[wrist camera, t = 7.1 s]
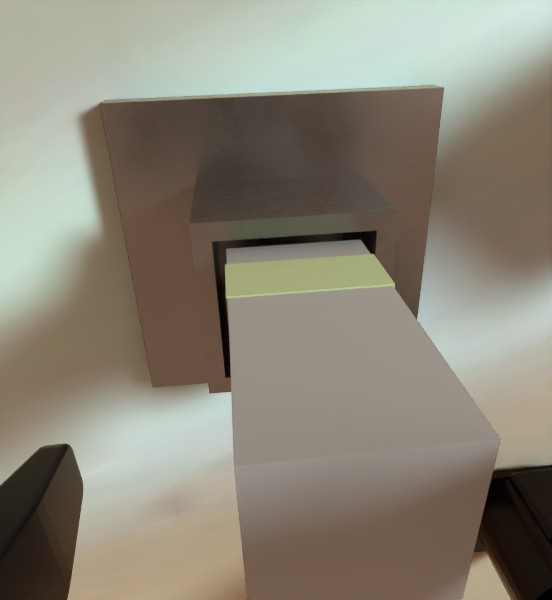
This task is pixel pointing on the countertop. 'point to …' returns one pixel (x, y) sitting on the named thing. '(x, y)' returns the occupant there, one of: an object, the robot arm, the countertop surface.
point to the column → (347, 433)
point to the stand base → (262, 199)
